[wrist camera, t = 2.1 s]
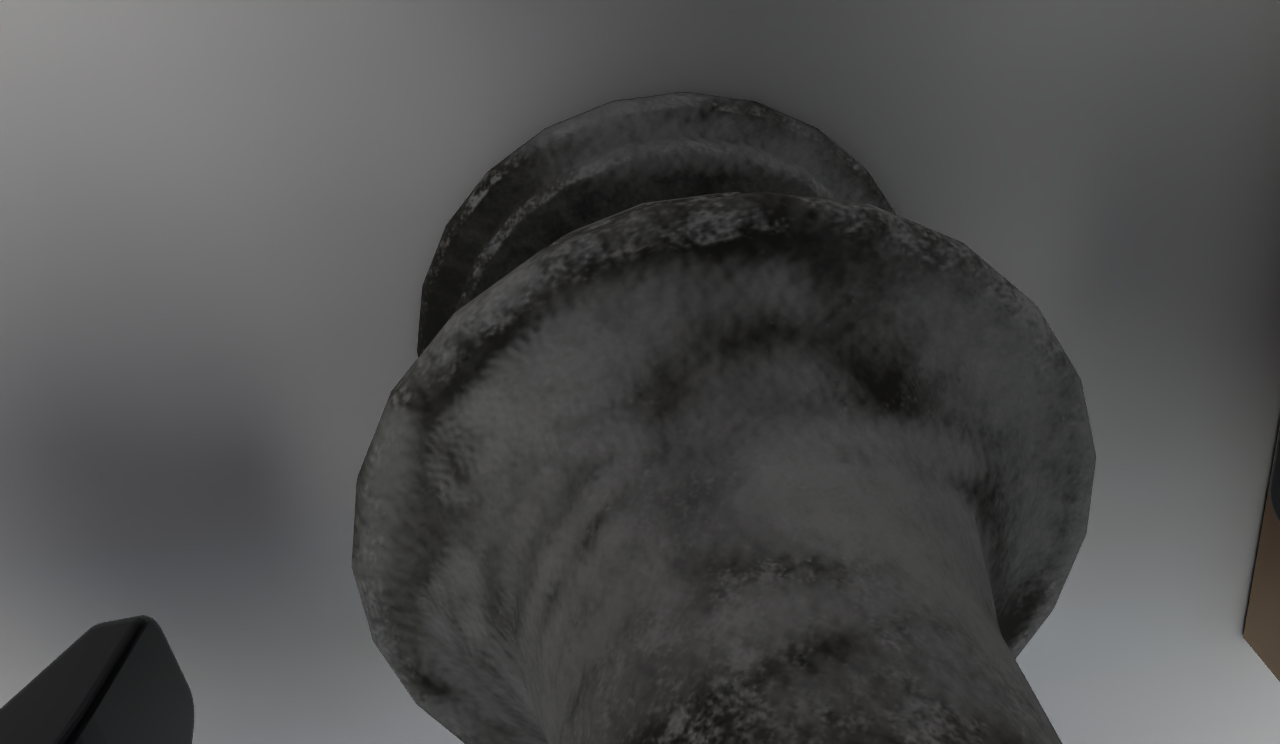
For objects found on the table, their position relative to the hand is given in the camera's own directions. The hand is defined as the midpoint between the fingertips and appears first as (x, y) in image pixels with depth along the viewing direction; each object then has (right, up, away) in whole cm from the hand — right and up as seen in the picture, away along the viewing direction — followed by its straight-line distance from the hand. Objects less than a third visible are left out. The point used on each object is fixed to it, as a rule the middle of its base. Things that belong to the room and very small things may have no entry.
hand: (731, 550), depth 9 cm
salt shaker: (0, +2, +3) cm, 4 cm away
